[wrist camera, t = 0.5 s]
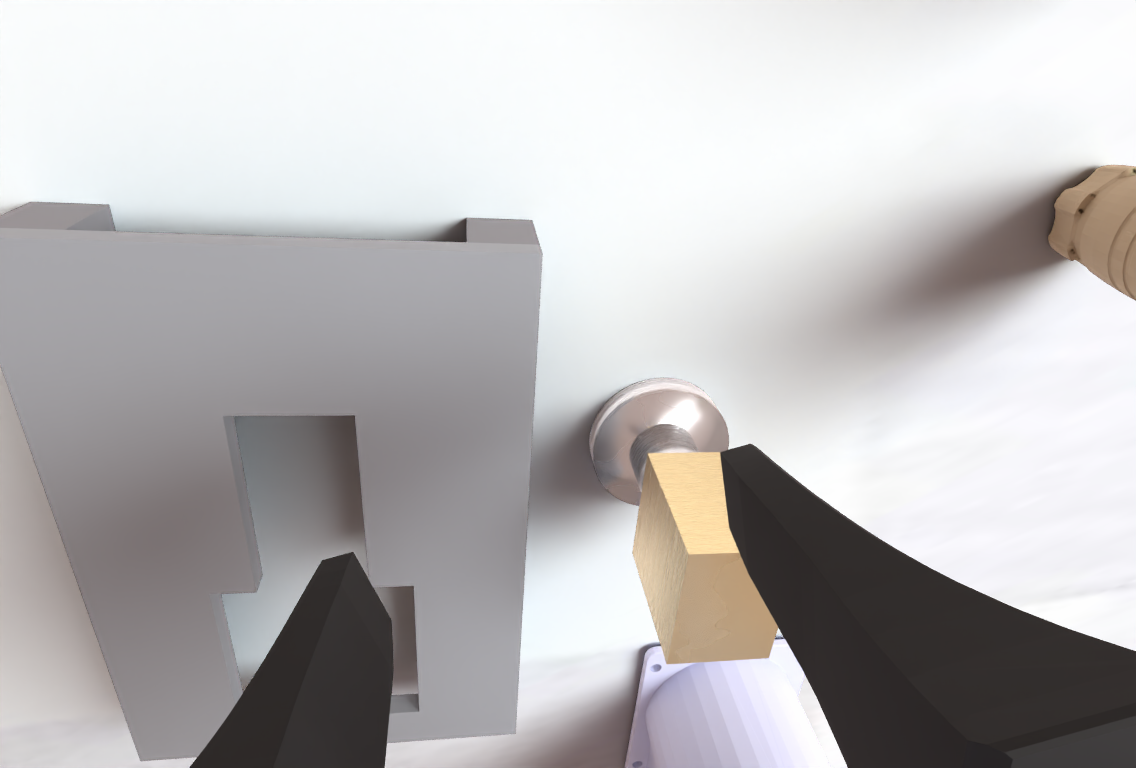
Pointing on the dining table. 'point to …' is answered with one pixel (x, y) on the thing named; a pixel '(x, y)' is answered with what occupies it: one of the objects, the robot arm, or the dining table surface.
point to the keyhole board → (277, 388)
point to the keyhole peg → (681, 520)
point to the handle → (1100, 226)
